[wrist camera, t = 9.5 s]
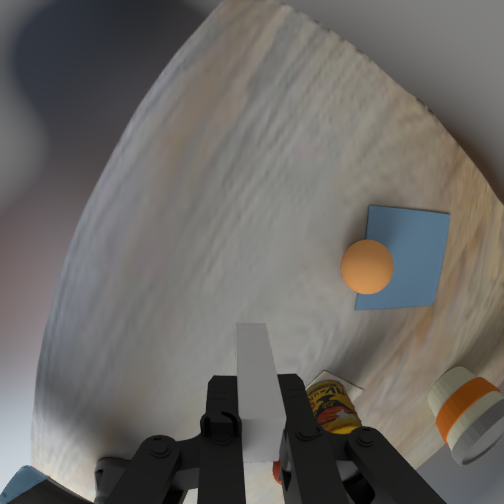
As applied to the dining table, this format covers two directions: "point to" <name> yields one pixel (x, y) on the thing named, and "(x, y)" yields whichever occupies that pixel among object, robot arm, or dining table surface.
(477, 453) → the reusable coffee cup
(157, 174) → the dining table surface
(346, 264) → the ball
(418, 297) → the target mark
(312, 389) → the condiment
